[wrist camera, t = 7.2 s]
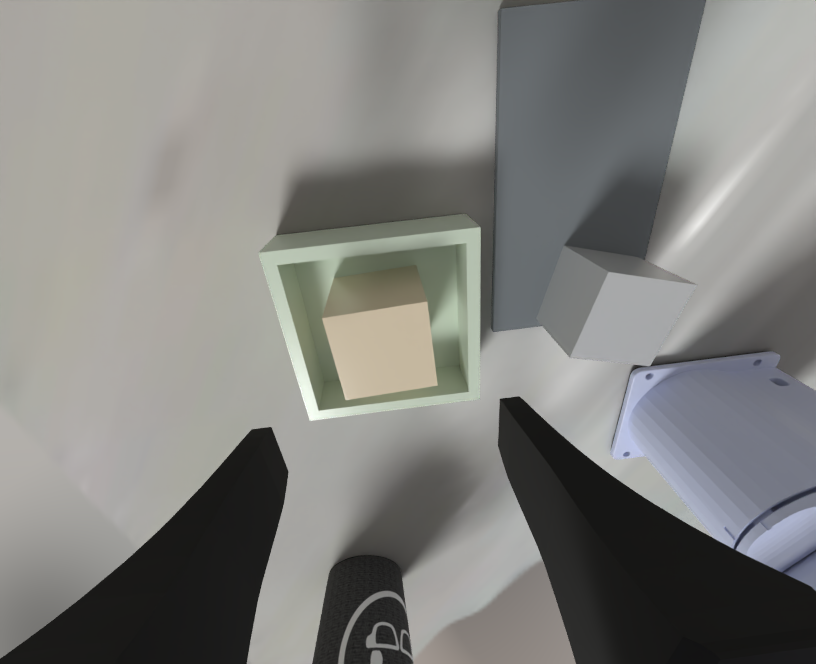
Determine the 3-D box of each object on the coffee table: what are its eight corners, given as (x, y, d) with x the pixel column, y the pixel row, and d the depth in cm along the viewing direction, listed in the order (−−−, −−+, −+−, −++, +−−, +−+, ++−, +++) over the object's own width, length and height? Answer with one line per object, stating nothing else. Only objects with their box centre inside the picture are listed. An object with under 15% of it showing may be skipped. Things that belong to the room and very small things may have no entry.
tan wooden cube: (416, 265, 18) (427, 301, 14) (425, 336, 20) (437, 385, 16) (333, 278, 18) (321, 318, 14) (351, 348, 20) (345, 400, 16)
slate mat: (700, -10, 14) (709, -14, 14) (627, 312, 21) (631, 315, 20) (498, 11, 14) (501, 8, 13) (491, 328, 21) (493, 332, 20)
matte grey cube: (637, 256, 19) (697, 285, 15) (603, 326, 21) (649, 366, 17) (563, 245, 18) (608, 272, 15) (536, 318, 20) (569, 357, 17)
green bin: (465, 213, 17) (480, 227, 15) (467, 368, 22) (479, 399, 19) (275, 235, 17) (258, 253, 15) (317, 387, 22) (310, 420, 19)
